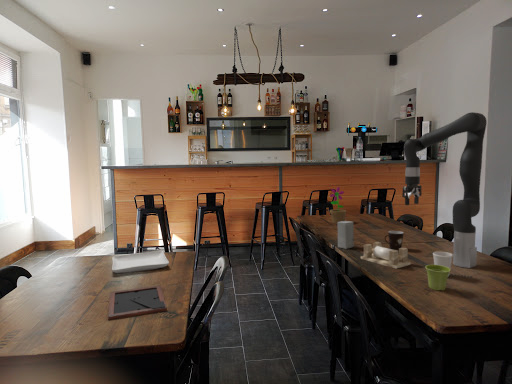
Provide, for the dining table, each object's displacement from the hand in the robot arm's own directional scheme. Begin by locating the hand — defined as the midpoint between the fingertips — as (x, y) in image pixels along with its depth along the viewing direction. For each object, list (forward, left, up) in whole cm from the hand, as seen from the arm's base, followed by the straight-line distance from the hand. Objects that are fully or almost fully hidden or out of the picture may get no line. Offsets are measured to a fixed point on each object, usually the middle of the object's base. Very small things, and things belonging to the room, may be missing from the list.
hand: (411, 204), depth 199 cm
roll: (-1, +24, -27) cm, 36 cm away
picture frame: (+21, +146, -29) cm, 151 cm away
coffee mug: (+13, -2, -28) cm, 31 cm away
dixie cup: (-30, +21, -28) cm, 46 cm away
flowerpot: (+94, -40, -28) cm, 106 cm away
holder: (-1, +24, -28) cm, 37 cm away
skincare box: (+33, +18, -28) cm, 47 cm away
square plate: (+70, +132, -29) cm, 152 cm away
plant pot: (-38, +39, -28) cm, 61 cm away
